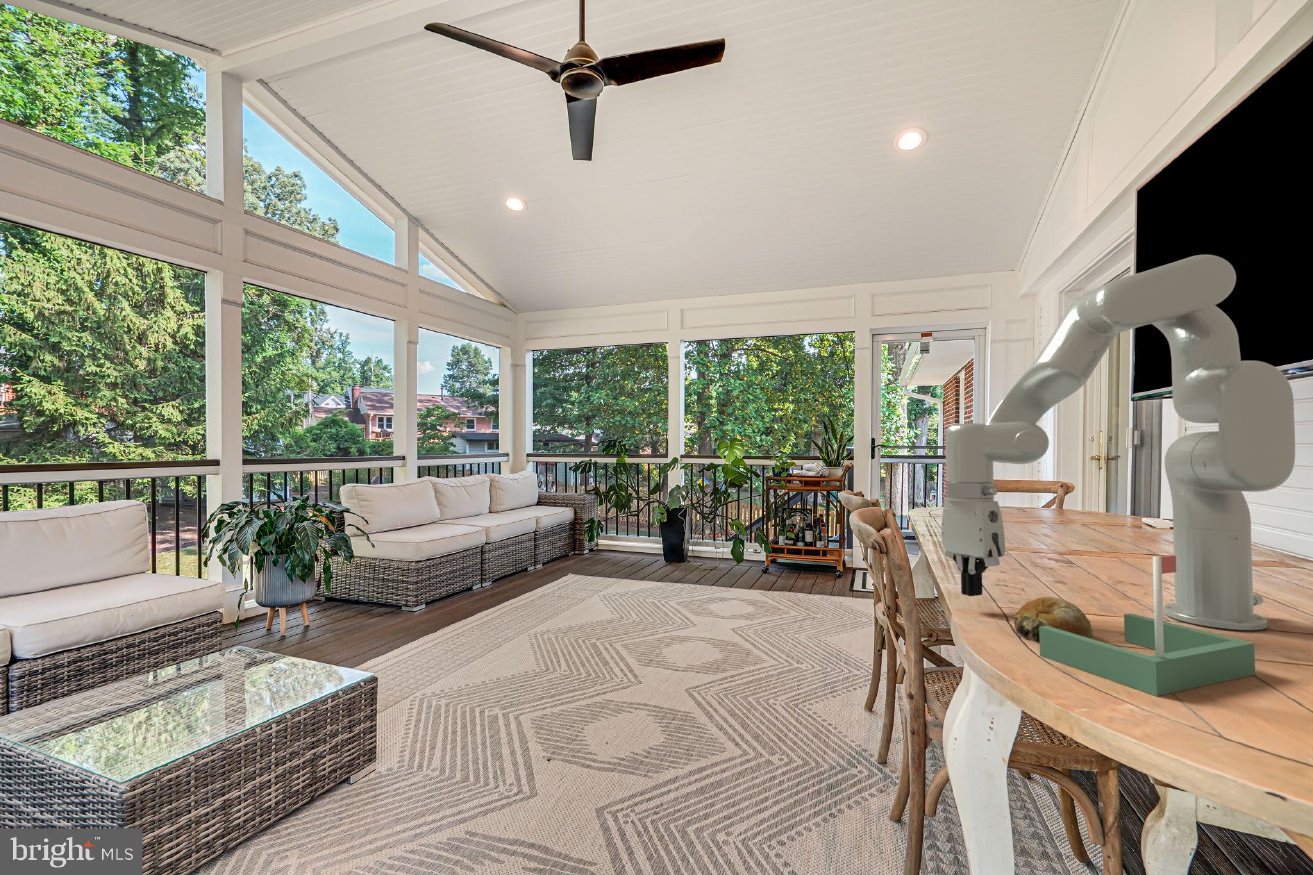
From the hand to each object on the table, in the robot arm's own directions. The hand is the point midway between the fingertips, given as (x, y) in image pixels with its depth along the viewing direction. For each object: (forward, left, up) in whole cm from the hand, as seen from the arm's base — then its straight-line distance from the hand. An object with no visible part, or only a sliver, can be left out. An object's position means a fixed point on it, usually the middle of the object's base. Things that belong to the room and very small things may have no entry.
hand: (971, 594), depth 104 cm
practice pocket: (0, +27, -3) cm, 27 cm away
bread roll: (0, +15, -3) cm, 15 cm away
